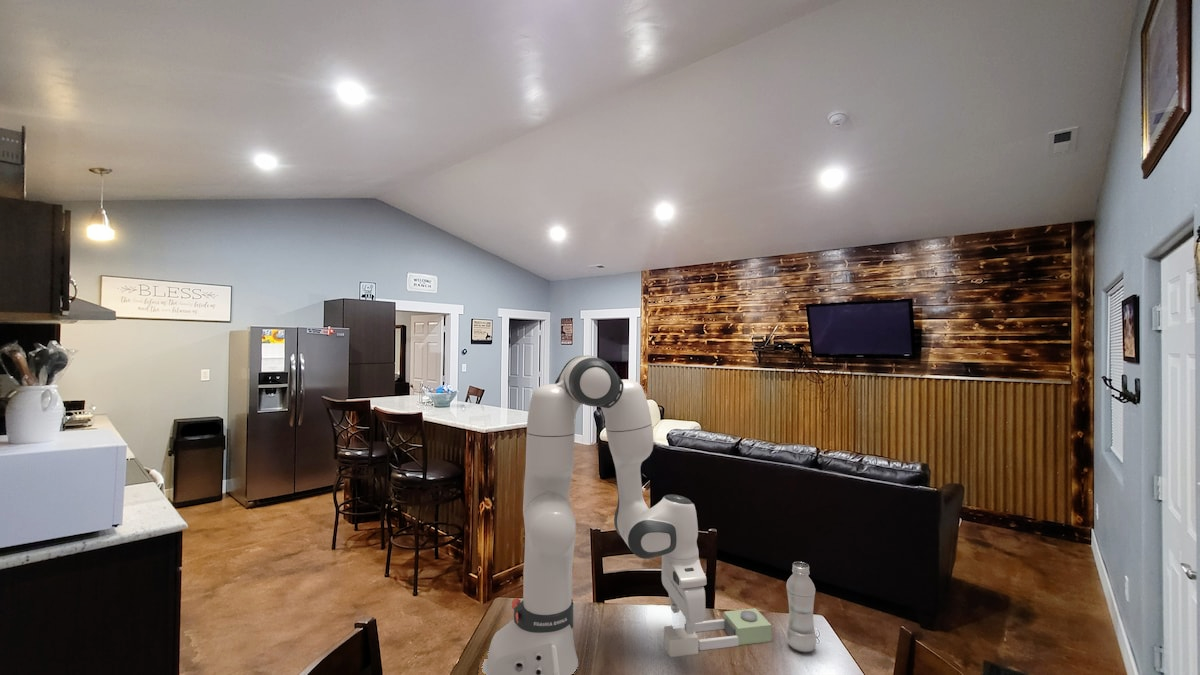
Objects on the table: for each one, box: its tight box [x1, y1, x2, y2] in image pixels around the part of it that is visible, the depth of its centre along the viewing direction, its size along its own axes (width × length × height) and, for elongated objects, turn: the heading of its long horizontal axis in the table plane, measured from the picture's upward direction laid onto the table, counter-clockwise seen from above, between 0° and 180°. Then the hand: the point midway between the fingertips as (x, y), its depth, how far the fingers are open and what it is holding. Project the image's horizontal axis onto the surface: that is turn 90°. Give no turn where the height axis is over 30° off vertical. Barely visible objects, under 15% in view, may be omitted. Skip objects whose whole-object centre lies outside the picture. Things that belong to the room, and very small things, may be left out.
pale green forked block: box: [694, 607, 773, 651], centre depth 125 cm, size 19×8×5 cm, turn 101°
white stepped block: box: [663, 625, 699, 658], centre depth 119 cm, size 7×4×5 cm, turn 101°
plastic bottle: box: [785, 561, 817, 653], centre depth 120 cm, size 6×7×20 cm
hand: (682, 621), depth 119 cm, fingers open, 8 cm apart
